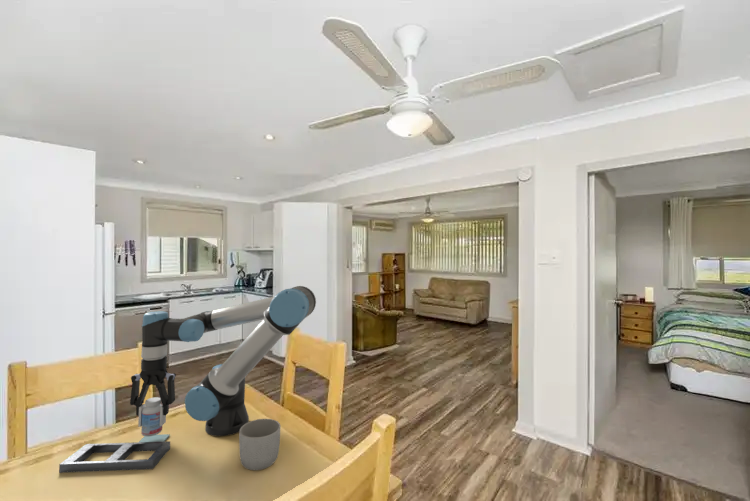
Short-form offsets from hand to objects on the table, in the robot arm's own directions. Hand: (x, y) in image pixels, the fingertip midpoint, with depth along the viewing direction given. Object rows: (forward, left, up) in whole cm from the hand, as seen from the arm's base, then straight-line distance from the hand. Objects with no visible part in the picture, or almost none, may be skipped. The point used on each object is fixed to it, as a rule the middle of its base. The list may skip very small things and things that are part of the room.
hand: (152, 424), depth 120 cm
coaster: (0, 0, -6) cm, 6 cm away
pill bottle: (0, 0, -3) cm, 3 cm away
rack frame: (+5, +10, -6) cm, 13 cm away
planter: (-39, +14, -7) cm, 42 cm away
